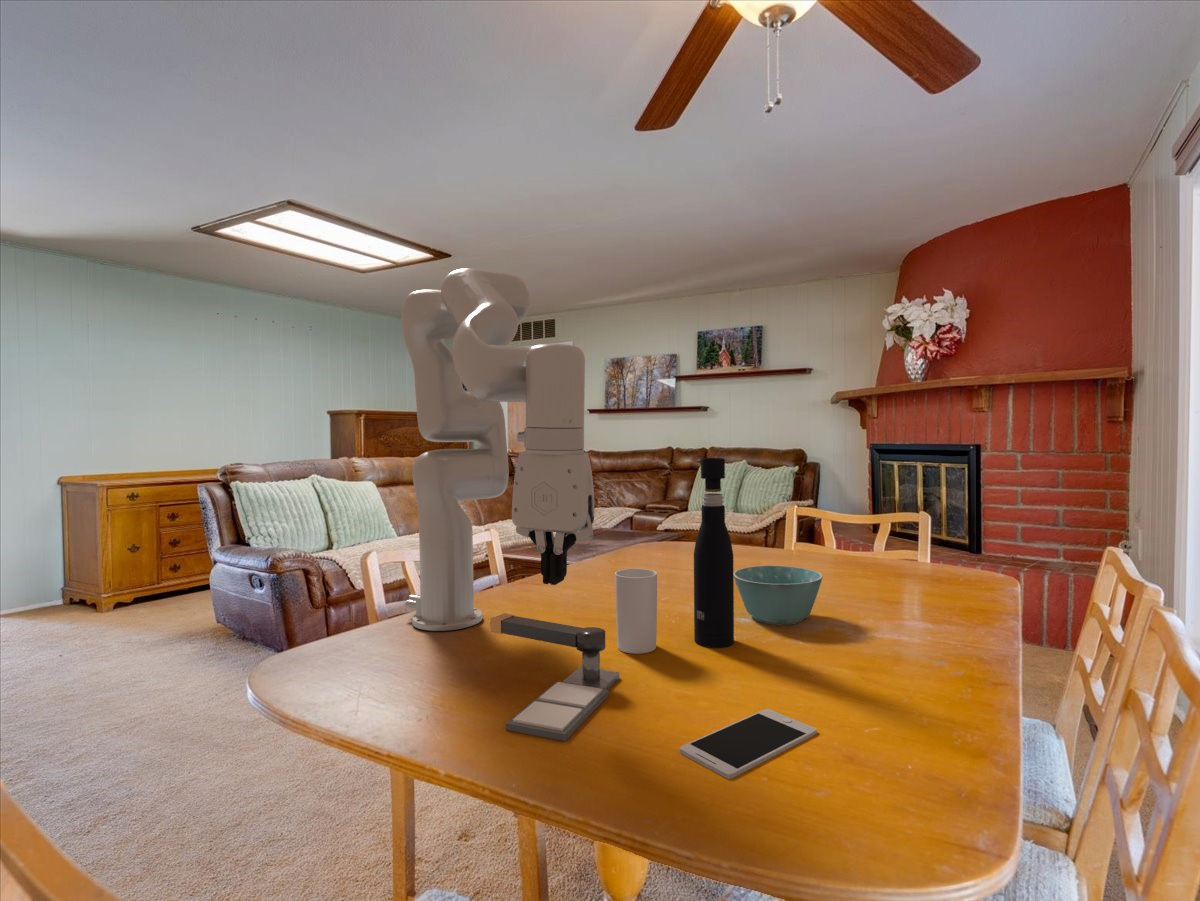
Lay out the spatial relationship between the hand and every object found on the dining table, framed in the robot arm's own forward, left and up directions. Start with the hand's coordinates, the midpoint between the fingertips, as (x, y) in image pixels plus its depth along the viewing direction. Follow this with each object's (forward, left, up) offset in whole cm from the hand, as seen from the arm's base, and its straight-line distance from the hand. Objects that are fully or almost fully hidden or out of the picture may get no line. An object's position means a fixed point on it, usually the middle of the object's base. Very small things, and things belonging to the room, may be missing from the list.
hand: (553, 581), depth 83 cm
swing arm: (-4, +6, -10) cm, 13 cm away
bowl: (+23, +45, -15) cm, 53 cm away
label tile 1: (+3, -8, -15) cm, 17 cm away
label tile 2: (+3, -1, -15) cm, 15 cm away
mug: (+3, +22, -15) cm, 27 cm away
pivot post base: (+3, +5, -15) cm, 16 cm away
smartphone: (+26, -4, -16) cm, 30 cm away
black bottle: (+15, +28, -15) cm, 36 cm away
